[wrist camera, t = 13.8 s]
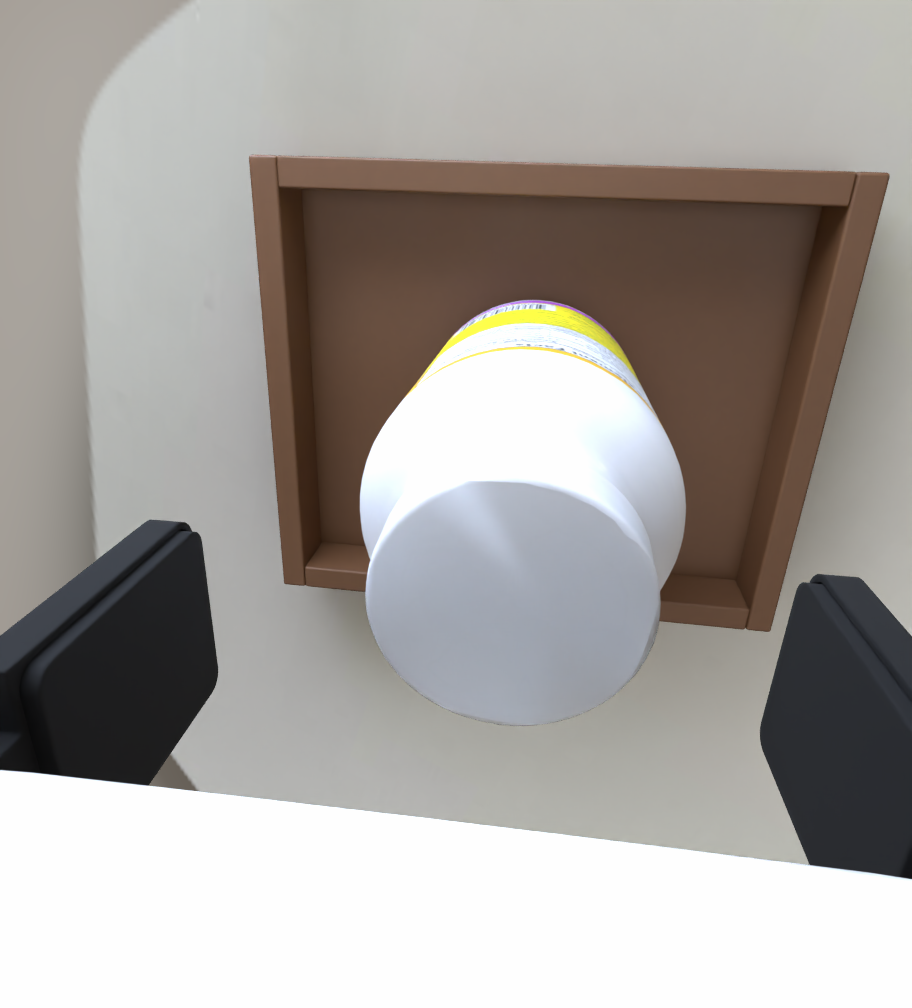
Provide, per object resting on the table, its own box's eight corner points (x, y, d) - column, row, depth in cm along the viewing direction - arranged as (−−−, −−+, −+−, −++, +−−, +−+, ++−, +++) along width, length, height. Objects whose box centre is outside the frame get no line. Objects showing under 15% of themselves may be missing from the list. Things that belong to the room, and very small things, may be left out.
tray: (307, 550, 27) (283, 584, 24) (282, 159, 21) (247, 154, 19) (750, 592, 25) (770, 632, 22) (850, 176, 19) (891, 172, 17)
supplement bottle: (556, 528, 24) (558, 833, 12) (395, 428, 23) (236, 652, 12) (680, 369, 21) (829, 571, 10) (501, 251, 21) (433, 314, 9)
